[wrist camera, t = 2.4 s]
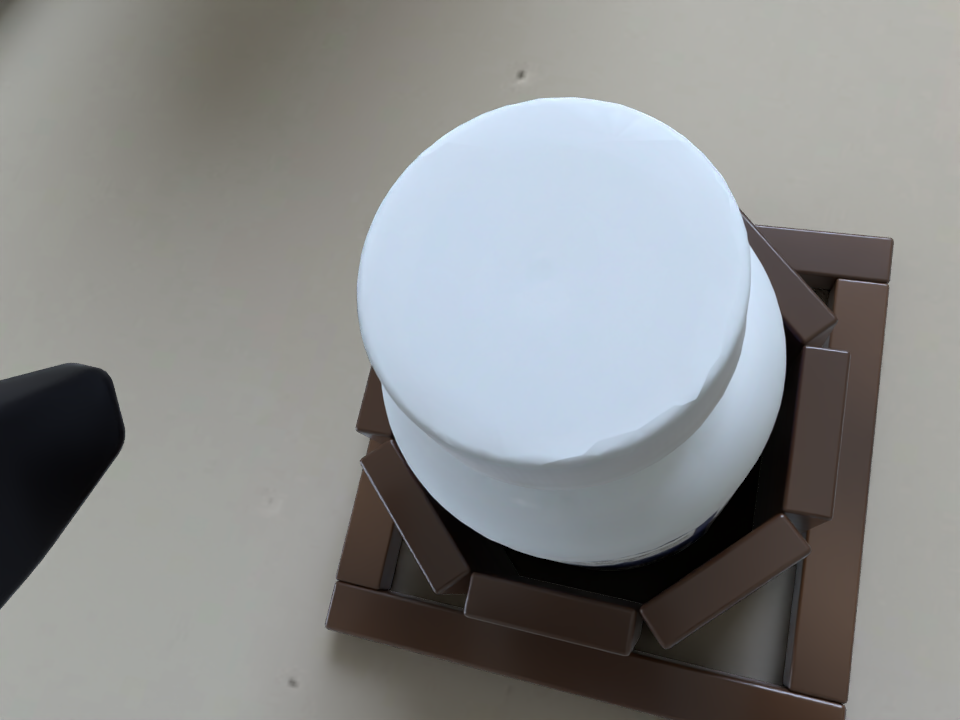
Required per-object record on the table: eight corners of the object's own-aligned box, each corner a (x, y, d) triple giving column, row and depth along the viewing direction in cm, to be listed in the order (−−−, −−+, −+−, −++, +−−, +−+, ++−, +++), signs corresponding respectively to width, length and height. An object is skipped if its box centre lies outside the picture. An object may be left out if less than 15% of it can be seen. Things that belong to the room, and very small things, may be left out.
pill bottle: (577, 279, 18) (487, -38, 9) (792, 409, 16) (951, 177, 7) (437, 472, 18) (191, 344, 8) (642, 628, 16) (609, 677, 7)
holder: (832, 756, 14) (900, 824, 10) (337, 627, 17) (230, 638, 13) (885, 252, 17) (958, 139, 13) (439, 206, 19) (377, 100, 15)
